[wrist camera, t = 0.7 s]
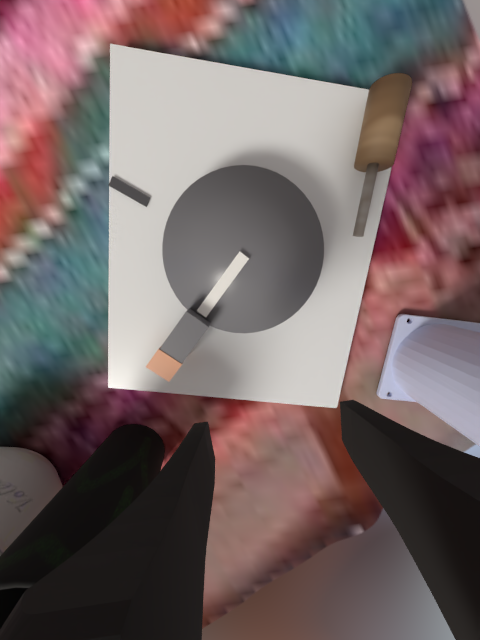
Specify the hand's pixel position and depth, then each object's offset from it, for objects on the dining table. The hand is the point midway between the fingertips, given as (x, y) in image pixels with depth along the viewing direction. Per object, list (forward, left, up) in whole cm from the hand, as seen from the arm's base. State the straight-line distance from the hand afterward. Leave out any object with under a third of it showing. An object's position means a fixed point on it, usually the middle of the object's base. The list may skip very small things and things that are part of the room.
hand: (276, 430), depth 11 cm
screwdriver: (-6, -15, -9) cm, 19 cm away
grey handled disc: (+3, -6, -9) cm, 11 cm away
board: (+2, -8, -10) cm, 13 cm away
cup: (+10, +11, -11) cm, 18 cm away
